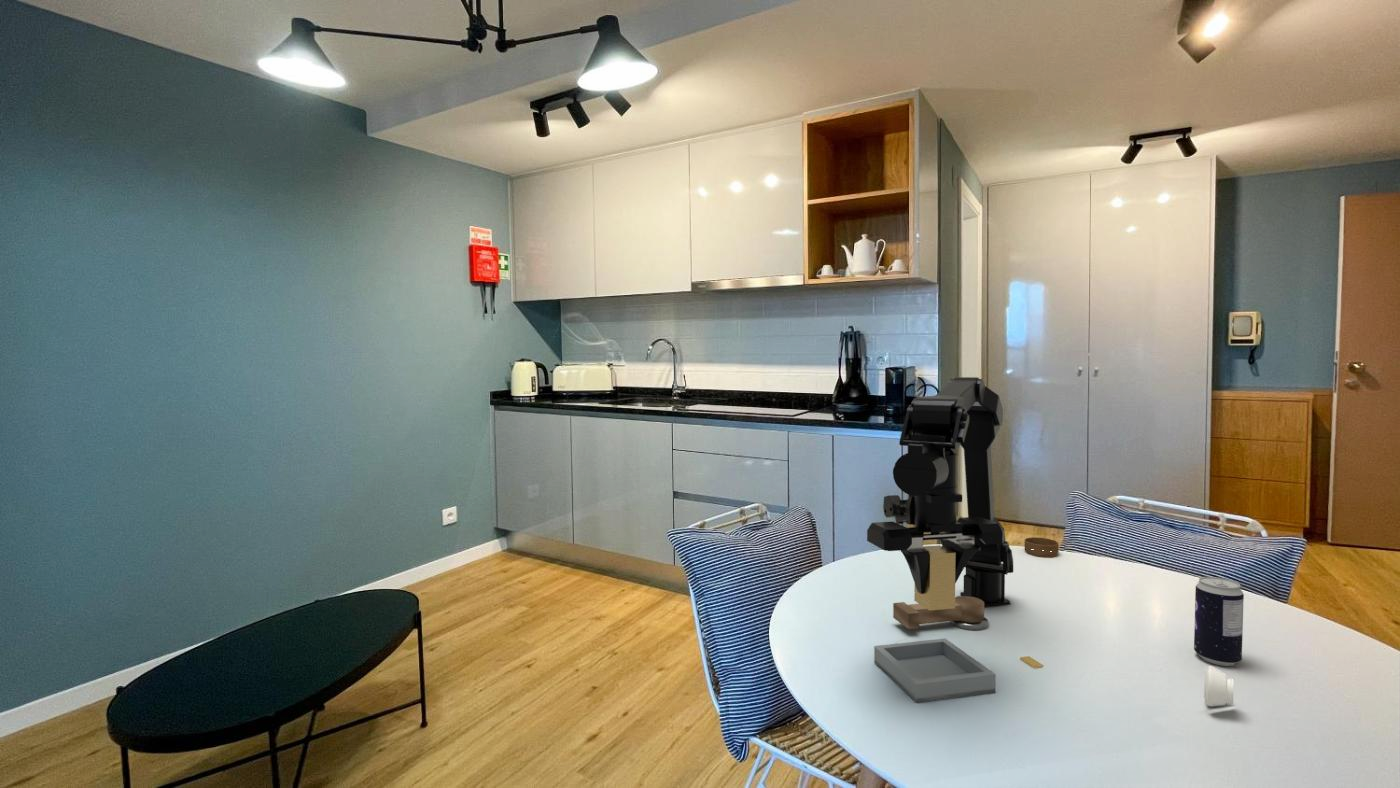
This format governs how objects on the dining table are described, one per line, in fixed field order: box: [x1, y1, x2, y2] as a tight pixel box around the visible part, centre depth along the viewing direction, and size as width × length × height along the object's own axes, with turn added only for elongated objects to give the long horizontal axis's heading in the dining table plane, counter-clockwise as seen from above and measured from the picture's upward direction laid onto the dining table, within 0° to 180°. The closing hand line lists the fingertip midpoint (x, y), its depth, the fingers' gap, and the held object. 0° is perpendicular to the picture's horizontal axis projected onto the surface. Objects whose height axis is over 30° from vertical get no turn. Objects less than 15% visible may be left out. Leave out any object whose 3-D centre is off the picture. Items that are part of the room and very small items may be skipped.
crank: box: [892, 595, 985, 630], centre depth 112 cm, size 16×5×3 cm, turn 102°
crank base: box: [948, 616, 1044, 669], centre depth 106 cm, size 6×20×1 cm, turn 12°
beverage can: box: [1193, 576, 1245, 667], centre depth 98 cm, size 6×6×12 cm
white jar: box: [1203, 665, 1235, 708], centre depth 85 cm, size 5×3×5 cm, turn 141°
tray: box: [873, 637, 997, 704], centre depth 94 cm, size 12×12×3 cm
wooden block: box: [914, 544, 956, 611], centre depth 93 cm, size 4×4×8 cm
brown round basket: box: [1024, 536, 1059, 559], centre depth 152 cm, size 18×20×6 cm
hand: (934, 592), depth 94 cm, fingers closed on wooden block, 4 cm apart
